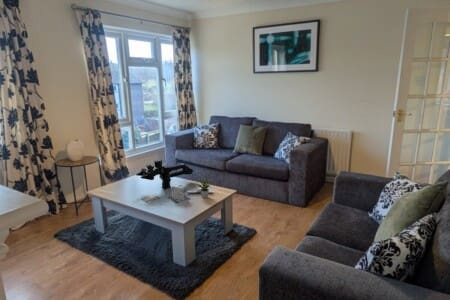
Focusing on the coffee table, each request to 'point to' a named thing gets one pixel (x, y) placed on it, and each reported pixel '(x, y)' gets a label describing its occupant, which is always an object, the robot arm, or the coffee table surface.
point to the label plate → (150, 198)
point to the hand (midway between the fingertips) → (138, 176)
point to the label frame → (175, 200)
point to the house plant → (204, 188)
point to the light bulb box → (179, 192)
